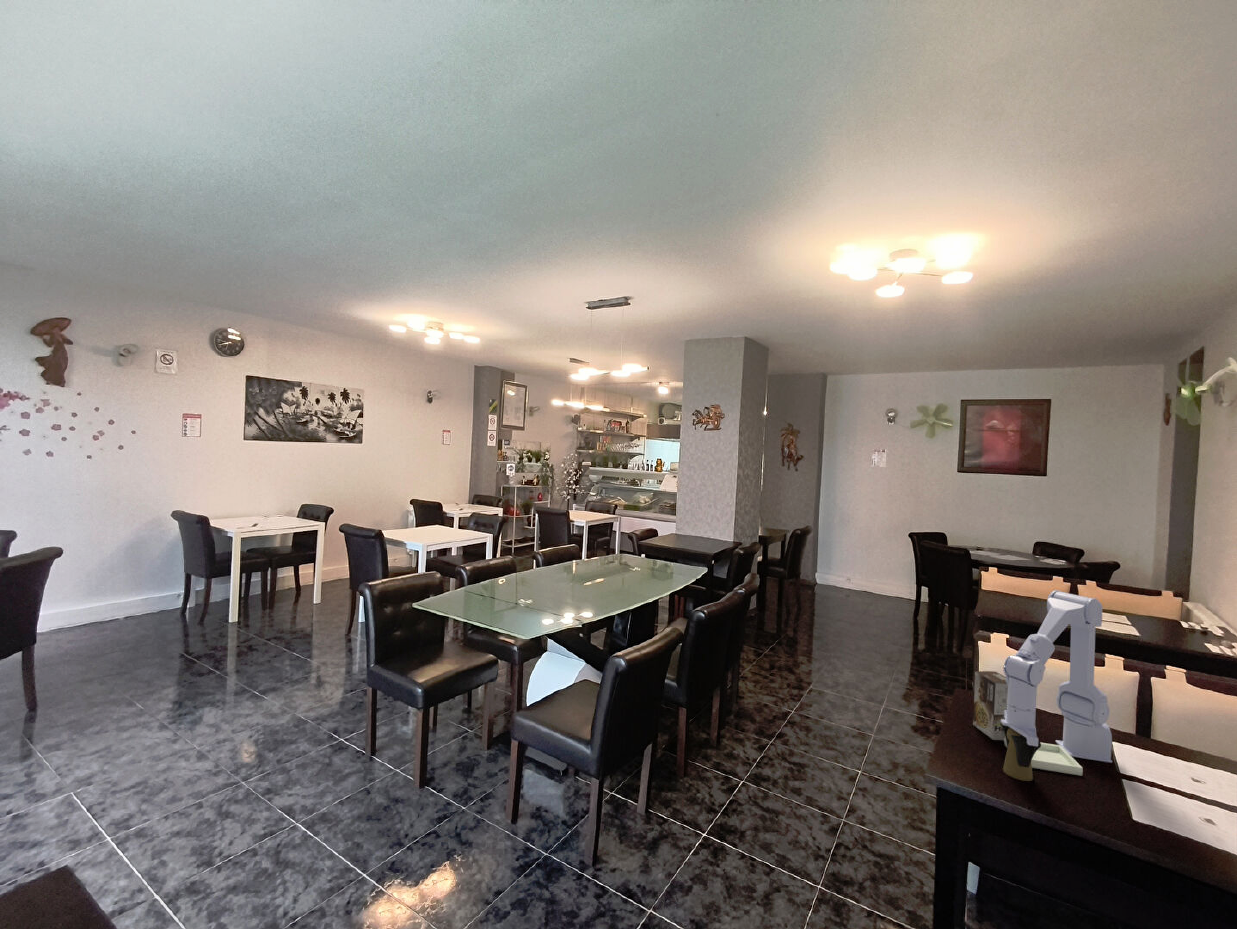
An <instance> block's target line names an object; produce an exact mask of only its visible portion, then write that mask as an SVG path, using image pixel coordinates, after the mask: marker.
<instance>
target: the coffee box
mask: <svg viewBox="0 0 1237 929" xmlns="http://www.w3.org/2000/svg"><path fill="white" fill-rule="evenodd" d="M1007 697H1008V684H1007V683H1006V676H1004V675H1003V674H1000V673H998V671H991V670H990V671H989V670H987V671H986V670H985V671H979V670H975V671H974V694H973V718H972V720H973V721H972V725H973V726H974V727H975V728H977V729H978V730H980V732H982V733H983V734H984V735H986V736H987V737H989V738H990V739H991V740H993V741H1004V739H1005V734H1004V731H1003V729H1002V727H1001V725H1000V722H1001V719H1004V720H1005V718H1004V710H1007Z"/></svg>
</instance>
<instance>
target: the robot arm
mask: <svg viewBox="0 0 1237 929" xmlns="http://www.w3.org/2000/svg"><path fill="white" fill-rule="evenodd" d="M1046 609H1047V613H1046V616H1045V618H1044V620H1043V621H1042V623H1041V625H1040V627H1039V629H1038V631H1037V633H1034V634H1033V633H1031V634H1030V635H1029V636H1028V637H1026V640H1025V641H1024V642H1023V644H1022V645H1021V647H1020V648H1019V649H1018V651H1017V652H1016V654H1013V655H1009V656H1008V657H1006V659H1005V661H1004V665H1003V666H1002V667H1003V670H1002V671H1003V673H1004V675H1005V677H1006V683H1007V684H1008V697H1007V710H1004V718H1005V720H1004V719H1001V722H1000V725H1001V727H1002V729H1003V731H1004V734H1005V738H1006V743H1007V747H1006V748H1007V749H1008V744H1009V739H1008V738H1007V731H1008V729H1009V728H1012V729H1013V730H1015V731H1016V732H1018V733H1020V734H1021V737H1020V736H1015V735H1011V737H1012V739H1013V741H1014V744H1015V748H1016V757H1017V763H1018V765H1019V766H1022V767H1029V765H1030V763H1031V760H1032V758H1033V756H1034V754H1035V752H1036V751H1037V750H1038V749H1039V748H1040V747H1041V743H1042V742H1041V741H1039V737H1038V735H1037V726H1036V713H1037V712H1036V711H1037V710H1036V709H1037V707H1036V706H1037V692H1038V691H1037V690H1038V686H1039V684H1040V683H1042V681H1043V679H1044V674H1045V670H1046V668H1047V667H1046V666H1045V665H1046V664H1047V662H1048V661H1049V659H1050V658H1051V656H1052V654H1053V653H1054V652H1055V649H1056V648H1055V645H1054V642H1055V641H1056V640H1057V639H1058V637H1059V636H1060V635H1061V633H1062V632H1064V631H1065V629H1066V628H1067V627H1068V626H1070V648H1069V650H1070V652H1069V680H1068V681H1064V682H1063V683H1061V684H1059V686H1058V693H1057V694H1056V698H1055V699H1056V700H1055V703H1056V704H1055V705H1056V706H1057V708H1058V710H1060V712H1061V715H1063V730H1062V740H1058V739H1056V740H1055V743H1056V745H1060V746H1061V747H1062V748H1063V749H1064V750H1065V751H1066V752H1067V753H1068V754H1069V755H1070V756H1071V757H1072V758H1080V759H1084V760H1085V759H1086V760H1091V761H1092V760H1093V761H1099V762H1103V763H1111V764H1112V763H1113V760H1112V759H1111V758H1112V746H1113V745H1112V741H1113V736H1112V730H1111V729H1110V727H1109V725H1108V724H1107V722H1108V720H1109V716H1110V707H1109V704H1108V703H1109V702H1108V696H1107V694H1105V693H1104V692H1103V691H1102V690H1101V689H1100V688H1098V687H1097V686H1096V684H1095V657H1096V652H1095V650H1096V628H1100V627H1102V626H1103V625H1102V624H1103V605H1102V603H1101V602H1100V600H1098V599H1097V598H1093V597H1088V596H1081V595H1078V594H1074V593H1068V592H1064V591H1061V590H1056V589H1055V590H1052V592H1050V594H1049V595H1048V597H1047V601H1046Z"/></svg>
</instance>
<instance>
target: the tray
mask: <svg viewBox="0 0 1237 929" xmlns="http://www.w3.org/2000/svg"><path fill="white" fill-rule="evenodd" d="M1003 742H1004V744H1003V745H1004V746H1005V747H1006V748H1007V743H1006V738H1005V739H1004V740H1003ZM1040 743H1041V747H1040V748H1039V749H1038V750H1037V751H1036V752H1035V754H1034V756H1033V758H1032V760H1031V765H1032V769H1040V770H1045V771H1050V772H1056V773H1057V772H1058V773H1062V774H1069V775H1074V776H1075V775H1076V776H1081V777H1082V776H1083V771H1084V770H1083V766H1082V765H1080V764H1079V762H1077V760H1076V759H1075V758H1074V757H1072V756H1070V755H1069V754H1068V753H1067V752H1066V751H1065V750H1064V749H1063V748H1062V747H1061V746H1060V745H1058V744H1053V743H1045V742H1040Z"/></svg>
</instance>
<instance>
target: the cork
mask: <svg viewBox="0 0 1237 929" xmlns="http://www.w3.org/2000/svg"><path fill="white" fill-rule="evenodd" d="M1011 735H1015V736H1020V737H1021V734H1020V733H1018V732H1016V731H1015V730H1013V729H1012V728H1009V729H1008V731H1007V738H1008V739H1009V744H1008V748H1007V750H1006V755H1005V757H1004V758H1005V759H1004V763H1003V768H1002V771H1003V773H1005V775H1008V776H1009V777H1011V778H1013V779H1016V780H1019V781H1023V782H1031V781H1033V779H1034V777H1033V768H1032V765H1031V763H1030V765H1029V767H1022V766H1019V765H1018V763H1017V757H1016V748H1015V744H1014V741H1013V739H1012V737H1011Z"/></svg>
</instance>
